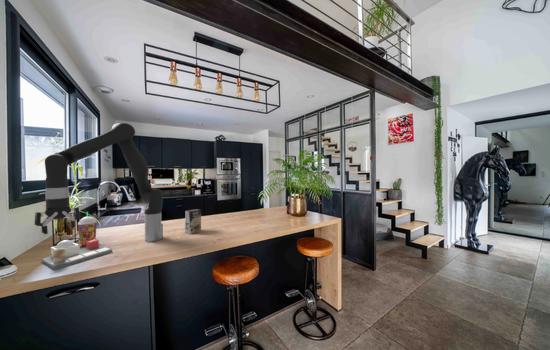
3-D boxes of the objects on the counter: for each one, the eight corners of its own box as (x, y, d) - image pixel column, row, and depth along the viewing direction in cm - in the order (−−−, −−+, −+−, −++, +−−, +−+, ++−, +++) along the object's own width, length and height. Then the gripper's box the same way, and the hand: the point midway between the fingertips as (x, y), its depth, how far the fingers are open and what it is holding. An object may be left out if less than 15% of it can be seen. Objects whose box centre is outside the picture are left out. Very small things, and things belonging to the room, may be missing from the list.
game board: (98, 246, 117) (97, 236, 117) (112, 252, 109) (112, 240, 109) (41, 261, 97) (41, 249, 97) (54, 269, 89) (53, 256, 89)
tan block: (64, 259, 96) (63, 247, 96) (67, 261, 94) (66, 248, 94) (52, 262, 93) (51, 250, 92) (54, 264, 91) (54, 251, 91)
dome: (70, 248, 105) (70, 237, 105) (75, 250, 103) (75, 239, 102) (54, 252, 100) (54, 241, 100) (58, 255, 97) (58, 243, 97)
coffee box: (189, 234, 139) (189, 211, 138) (185, 232, 142) (184, 210, 142) (201, 231, 146) (201, 209, 146) (196, 229, 150) (196, 208, 150)
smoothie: (75, 246, 117) (74, 212, 117) (92, 241, 125) (91, 210, 125) (83, 248, 114) (82, 213, 114) (100, 243, 122) (99, 211, 122)
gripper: (75, 194, 101) (76, 226, 101) (31, 198, 88) (33, 234, 89) (81, 195, 97) (82, 228, 98) (36, 199, 85) (38, 237, 85)
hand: (59, 231), depth 93 cm, fingers open, 8 cm apart
